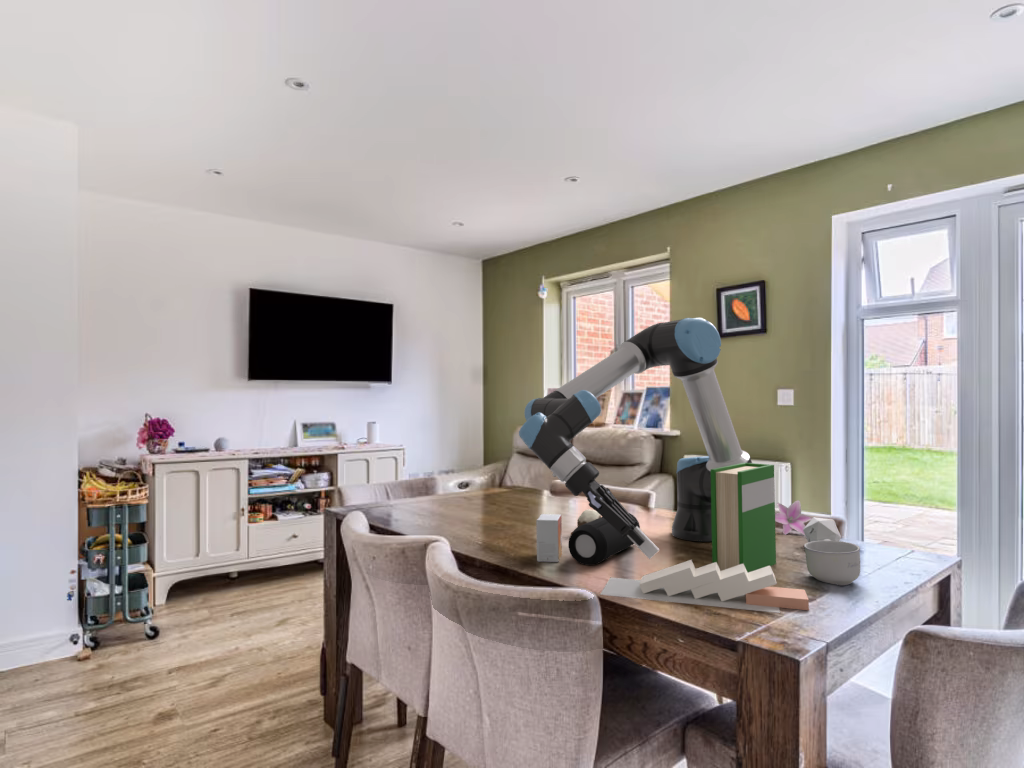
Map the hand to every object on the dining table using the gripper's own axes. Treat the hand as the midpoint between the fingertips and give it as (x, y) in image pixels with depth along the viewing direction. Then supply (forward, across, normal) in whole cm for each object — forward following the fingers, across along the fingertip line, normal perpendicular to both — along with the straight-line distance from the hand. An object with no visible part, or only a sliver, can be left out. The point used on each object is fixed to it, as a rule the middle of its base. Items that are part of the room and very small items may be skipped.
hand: (654, 554), depth 125 cm
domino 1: (+3, 0, -6) cm, 7 cm away
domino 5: (+17, 0, +8) cm, 19 cm away
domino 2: (+7, 0, -3) cm, 7 cm away
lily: (+29, -66, +17) cm, 74 cm away
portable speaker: (-5, -26, -17) cm, 31 cm away
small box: (-14, -19, -26) cm, 35 cm away
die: (+33, -50, +21) cm, 63 cm away
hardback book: (+19, -24, +7) cm, 31 cm away
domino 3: (+10, 0, +1) cm, 10 cm away
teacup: (+32, -21, +20) cm, 43 cm away
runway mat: (+10, 0, -1) cm, 10 cm away
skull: (-11, -47, -23) cm, 53 cm away
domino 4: (+14, 0, +4) cm, 14 cm away
